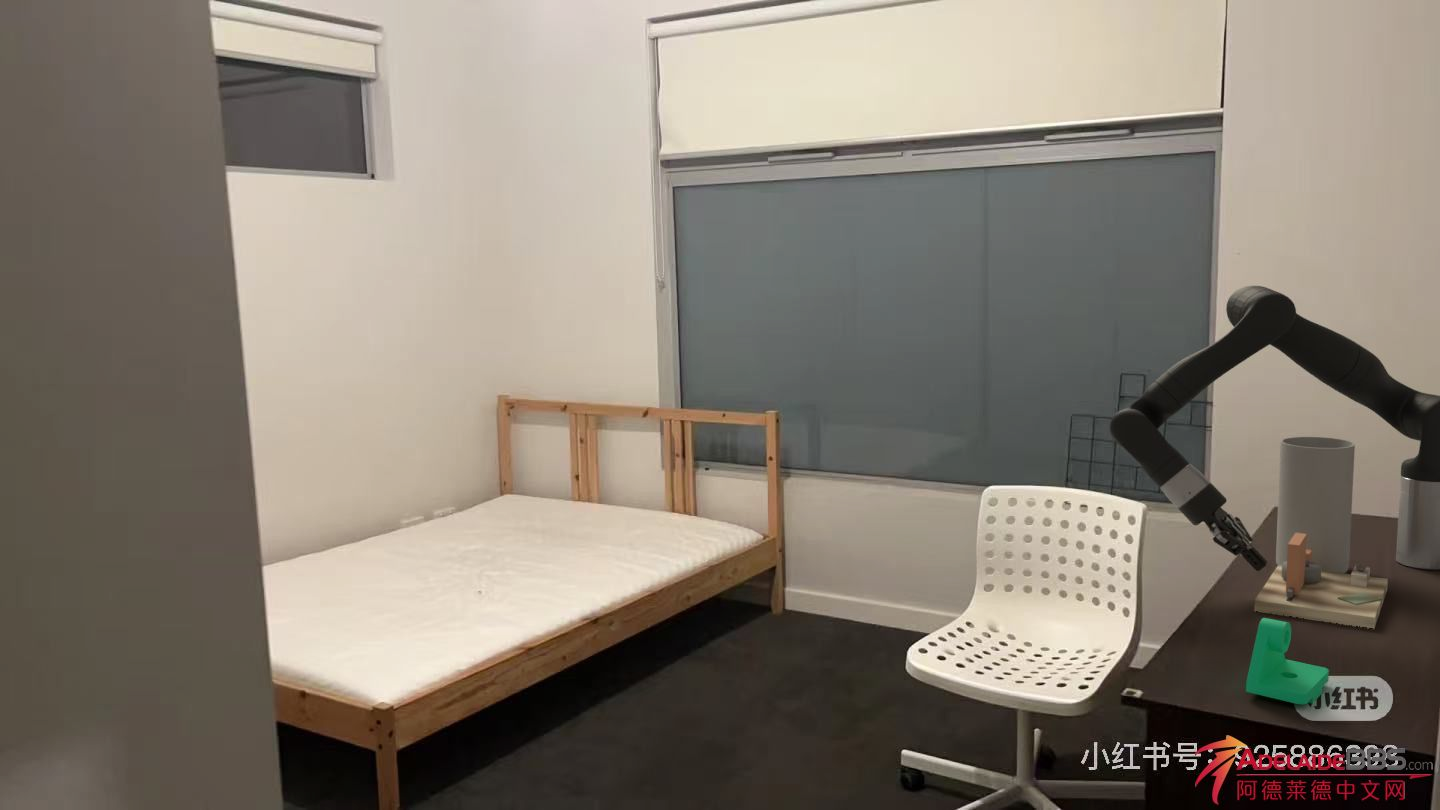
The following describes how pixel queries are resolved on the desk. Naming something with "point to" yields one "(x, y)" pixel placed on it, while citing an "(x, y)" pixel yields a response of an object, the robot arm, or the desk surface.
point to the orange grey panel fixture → (1299, 566)
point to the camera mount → (1282, 667)
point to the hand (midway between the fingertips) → (1263, 567)
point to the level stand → (1328, 597)
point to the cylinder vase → (1316, 499)
